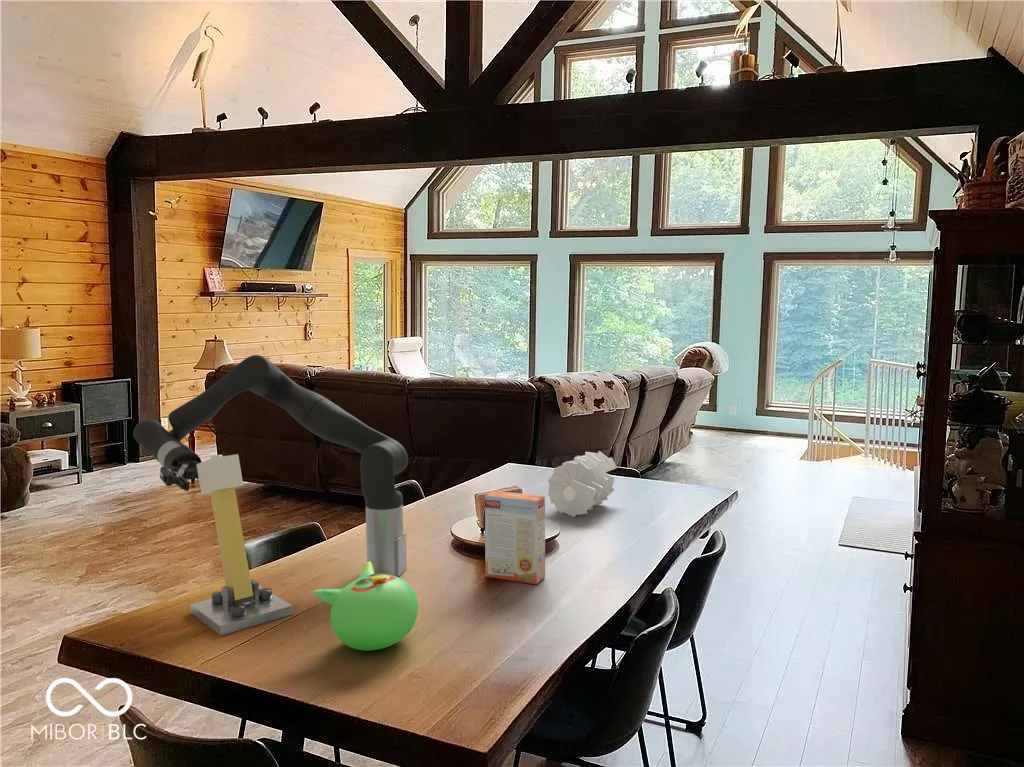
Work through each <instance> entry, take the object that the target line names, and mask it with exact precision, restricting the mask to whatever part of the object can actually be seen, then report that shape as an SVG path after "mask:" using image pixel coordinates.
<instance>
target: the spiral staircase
mask: <svg viewBox="0 0 1024 767" xmlns="http://www.w3.org/2000/svg"><path fill="white" fill-rule="evenodd" d="M584 453H585V454H583V455H576V456H574V459H572V460H569V461H565V462H563V463H561V464H562V465H560V466H557V467H554V468H553V473H552V474H551V476H550V477H549V478H548V479H547V483H548V492H547V493H548V495H547V496H548V497H549V500H550V504H553V505H554V506H555V508H556V509H557V510H558V511H559V513H560V514H563V513H564V514H567V515H569V516H571V517H574V518H575V517H576V516H578V515H579V516H580V515H587V514H588V511H592V510H594V508H593V507H594V506H597V505H602V504H604V501H608V500H609V499H608V496H610V495H611V494H612V493H613V492H614V491H615V490H616V489H615V487H613V486H614V484H615V480H616V476H614V475H612V474H609V473H608V472H610V471H612V470H615V469H617V468H618V467H617V465H616V463H615V461H614V459H613V457H612V456H610V457H608V456H606V454H604V453H603V452H601V451H600V450H598V451H597V452H590V451H585V452H584Z"/></svg>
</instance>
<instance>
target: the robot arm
mask: <svg viewBox="0 0 1024 767" xmlns="http://www.w3.org/2000/svg"><path fill="white" fill-rule="evenodd" d="M247 390H249V391H250V392H251V393H253V394H255V395H257V396H260V397H262V398H263V399H266V400H267V401H269V402H271V403H273V404H275V405H277V406H279V407H281V408H282V409H284V410H285V411H286V413H288V414H289V415H290V416H291V417H292V418H293V419H294V420H295V421H297V423H298V424H300V425H301V426H302V427H304V428H305V429H306V430H308V431H310V433H313V434H314V435H316V436H317V437H319V438H320V439H323V440H325V441H327V442H330V443H334V444H337V445H341V446H343V447H348V448H350V449H352V450H355V451H357V452H358V453H360V454H361V457H360V461H359V462H360V463H359V464H360V466H359V467H360V468H359V469H360V482H361V483H360V485H361V492H362V496H363V498H364V501H365V537H366V538H365V539H366V544H365V545H366V562H368V561H370V562H371V563H372V566H373V569H374V573H375V574H388V575H393V576H396V577H400V576H401V575H402V574H403V573H404V572H405V571H406V570H407V566H408V564H407V532H406V531H404V504H403V503H404V500H403V499H404V498H403V494H402V492H401V491H400V490H396V487H395V486H396V485H395V476H396V475H399V474H400V473H402V472H404V471H405V469H406V468H407V466H408V465H409V456H408V452H407V450H406V449H405V447H404V446H403V445H402V444H401V443H400V442H399V441H398V440H395V439H394V438H391V437H390V436H388V435H386V434H384V433H382V432H380V431H378V430H376V429H374V428H373V427H370V426H368V424H366V423H364V422H362V421H361V420H360V419H358V418H356V417H355V416H354V415H352V414H351V413H349V412H347V411H346V410H344V409H343V408H342V407H340V406H339V405H338V404H335V403H334V402H332V401H331V400H330V399H328V398H326V397H325V396H323V395H322V394H320V393H318V392H315V391H313V390H310V389H307V388H305V387H303V386H301V385H299V384H297V382H295V381H293V380H292V379H291V378H290V377H288V376H287V375H286V374H285V373H284V372H283V371H282V370H281V369H280V368H279V367H278V366H276V365H275V364H274V363H273V362H272V361H271V360H269V359H268V358H266V357H265V356H263V355H259V354H253V355H250V356H247V357H246V358H244V359H243V360H241V361H240V362H239V363H238V364H237V365H235V366H234V367H232V368H231V370H230V371H228V372H227V373H226V374H225V375H223V376H222V377H221V378H220V379H219V380H217V381H216V382H215V383H213V384H212V385H211V386H210V387H208V388H207V389H205V390H204V391H203V392H202V393H200V394H198V395H197V396H195V397H193V398H192V399H190V400H189V401H187V402H185V403H183V404H182V405H180V406H178V407H177V408H175V409H174V410H172V411H171V412H170V413H169V414H168V416H167V418H168V422H169V424H170V426H171V428H172V429H171V430H169V431H168V429H166V428H165V427H164V426H163V425H162V424H161V423H160V422H158V421H157V419H156V420H155V419H152V418H147V419H143V420H140V421H139V422H138V423H137V424H136V425H135V427H134V428H133V429H134V430H133V434H132V435H133V438H134V440H135V441H136V443H138V444H139V446H141V447H142V448H143V449H144V450H146V451H147V452H148V454H150V455H151V456H152V457H153V458H154V459H155V460H156V461H157V462H158V464H160V465H161V466H160V468H159V471H160V472H159V478H160V480H161V481H162V482H163V484H165V486H166V487H172V485H175V486H176V487H178V488H180V489H181V490H183V491H184V492H189V491H190V481H189V480H194V479H195V480H199V476H198V470H197V464H199V463H201V462H203V461H202V459H201V458H200V455H198V453H196V452H195V451H194V450H192V449H191V448H190V447H189V446H188V445H187V444H185V443H184V442H183V443H182V440H183V439H184V438H185V437H186V436H187V435H189V433H191V432H193V431H195V430H197V429H198V428H200V427H201V426H203V425H204V424H206V423H207V422H209V421H210V420H212V419H213V418H214V416H216V415H217V414H218V413H219V411H220V410H221V409H222V408H223V407H224V405H225V404H226V403H227V402H228V401H229V400H232V398H234V397H236V396H237V395H239V394H241V393H243V392H245V391H247Z"/></svg>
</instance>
